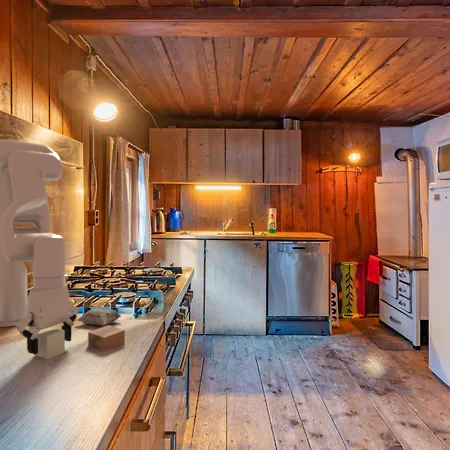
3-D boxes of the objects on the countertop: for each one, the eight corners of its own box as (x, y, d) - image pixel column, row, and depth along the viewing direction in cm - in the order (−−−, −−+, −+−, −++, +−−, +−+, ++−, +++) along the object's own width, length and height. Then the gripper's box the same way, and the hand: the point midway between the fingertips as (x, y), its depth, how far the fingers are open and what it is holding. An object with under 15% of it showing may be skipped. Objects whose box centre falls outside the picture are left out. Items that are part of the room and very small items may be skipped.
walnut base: (88, 346, 97) (88, 332, 97) (108, 338, 103) (108, 325, 103) (104, 352, 94) (104, 337, 93) (124, 343, 99) (124, 330, 99)
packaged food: (104, 330, 109) (105, 315, 109) (75, 326, 113) (75, 311, 113) (121, 322, 117) (122, 308, 117) (93, 318, 121) (93, 304, 121)
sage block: (35, 355, 90) (34, 332, 90) (52, 348, 95) (52, 327, 94) (47, 359, 88) (47, 336, 88) (64, 352, 92) (64, 330, 92)
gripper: (68, 275, 100) (69, 333, 100) (7, 287, 84) (8, 355, 85) (86, 278, 96) (87, 338, 97) (26, 290, 81) (27, 362, 82)
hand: (50, 346), depth 91 cm, fingers open, 9 cm apart
